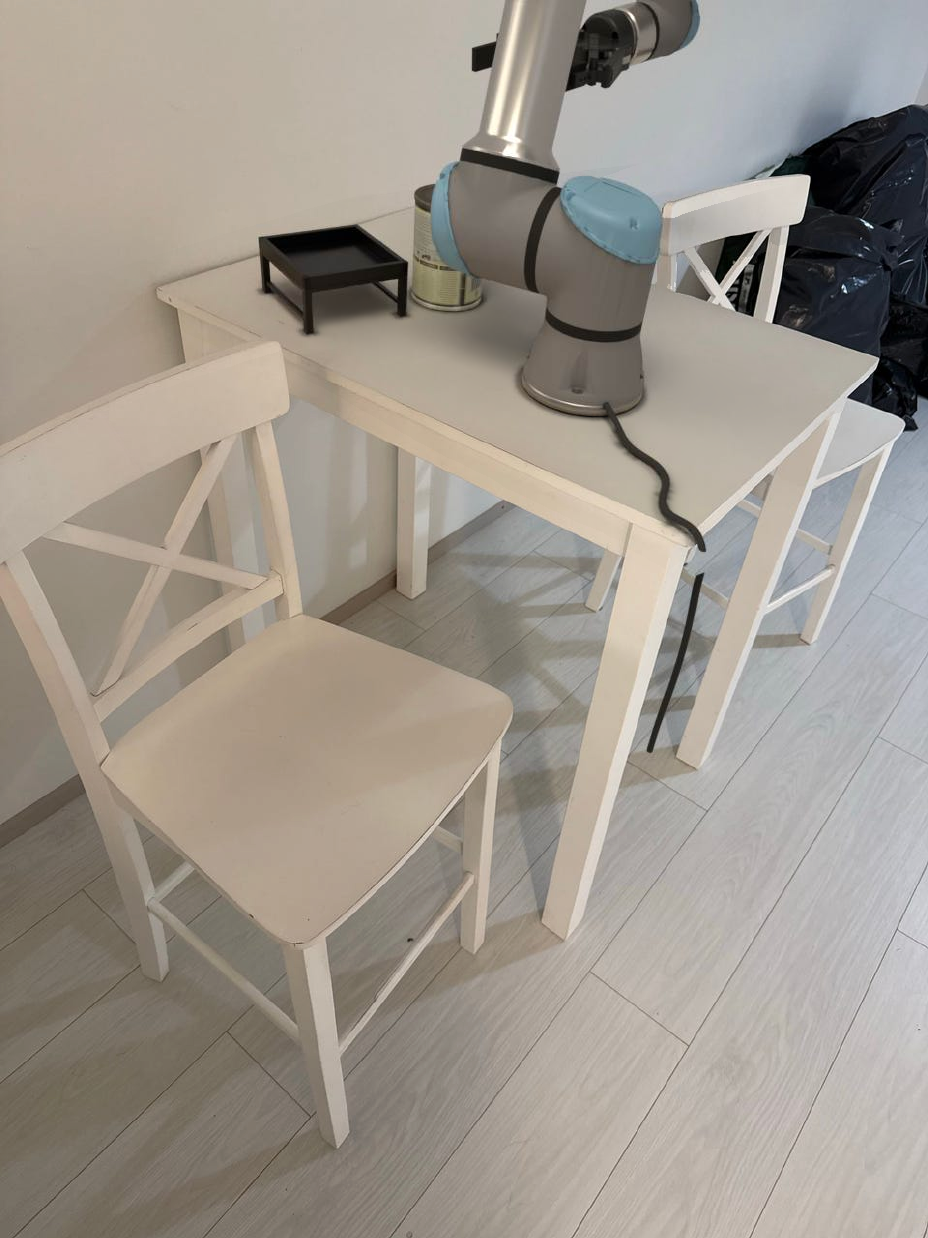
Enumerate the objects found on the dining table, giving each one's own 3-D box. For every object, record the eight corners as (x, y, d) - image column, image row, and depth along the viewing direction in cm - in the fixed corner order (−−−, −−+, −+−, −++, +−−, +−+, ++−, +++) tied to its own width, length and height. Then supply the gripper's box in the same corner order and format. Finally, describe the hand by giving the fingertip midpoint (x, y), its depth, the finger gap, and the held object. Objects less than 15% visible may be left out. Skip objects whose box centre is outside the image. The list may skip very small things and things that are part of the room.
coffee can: (415, 279, 136) (419, 178, 126) (484, 287, 135) (493, 187, 126) (405, 307, 128) (409, 202, 118) (477, 315, 128) (487, 211, 118)
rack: (406, 315, 126) (408, 261, 121) (306, 334, 119) (304, 277, 114) (357, 275, 135) (357, 223, 130) (262, 290, 128) (258, 236, 123)
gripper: (683, 90, 124) (580, 128, 114) (548, 50, 136) (444, 81, 126) (693, 26, 118) (586, 60, 108) (551, -9, 131) (444, 18, 120)
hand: (510, 71), depth 117 cm, fingers open, 13 cm apart
